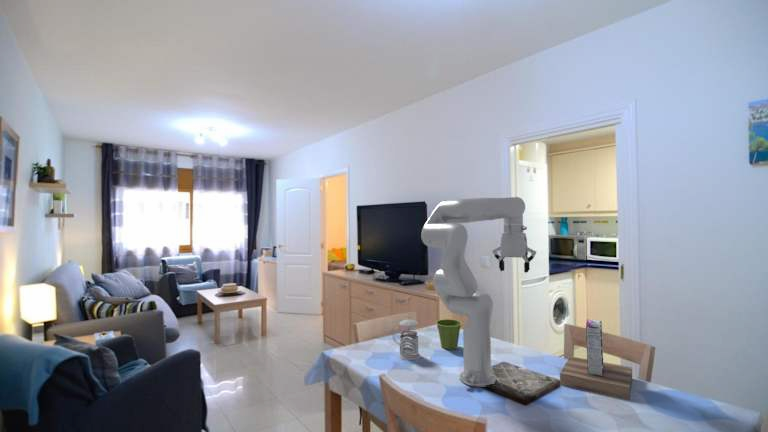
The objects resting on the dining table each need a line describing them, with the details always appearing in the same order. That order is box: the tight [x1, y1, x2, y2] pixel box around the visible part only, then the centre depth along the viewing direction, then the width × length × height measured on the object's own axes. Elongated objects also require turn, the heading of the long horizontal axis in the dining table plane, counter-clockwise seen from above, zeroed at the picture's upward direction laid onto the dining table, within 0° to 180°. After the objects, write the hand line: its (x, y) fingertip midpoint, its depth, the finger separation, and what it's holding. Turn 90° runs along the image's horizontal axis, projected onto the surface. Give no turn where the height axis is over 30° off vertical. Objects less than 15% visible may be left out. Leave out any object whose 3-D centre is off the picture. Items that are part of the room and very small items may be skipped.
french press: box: [392, 296, 421, 361], centre depth 159 cm, size 10×12×25 cm
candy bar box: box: [585, 318, 604, 376], centre depth 131 cm, size 11×5×16 cm, turn 150°
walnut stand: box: [559, 355, 633, 401], centre depth 130 cm, size 20×20×4 cm
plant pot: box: [435, 318, 463, 351], centre depth 169 cm, size 12×12×11 cm
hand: (514, 271), depth 151 cm, fingers open, 9 cm apart
